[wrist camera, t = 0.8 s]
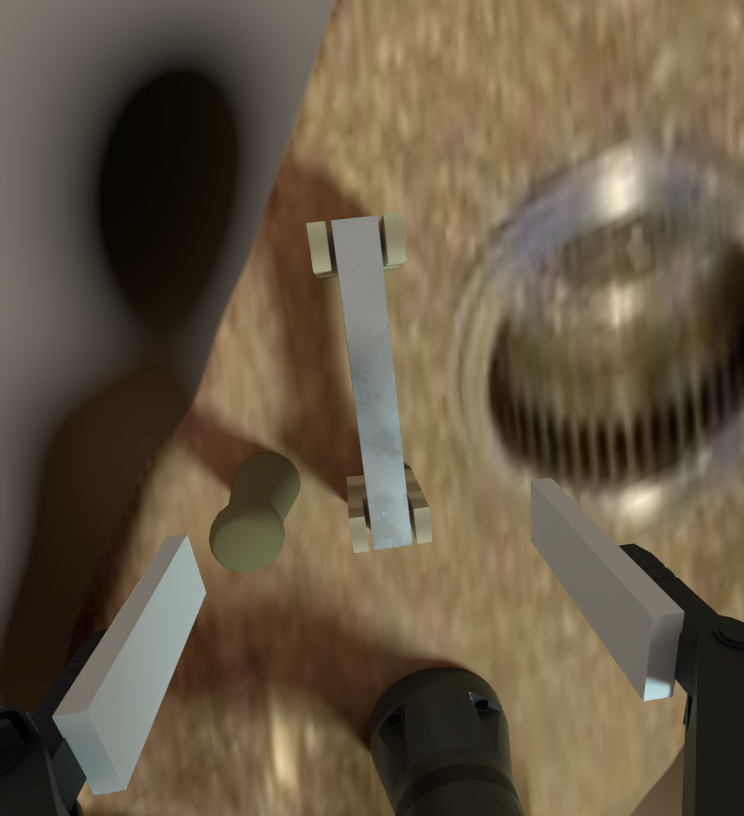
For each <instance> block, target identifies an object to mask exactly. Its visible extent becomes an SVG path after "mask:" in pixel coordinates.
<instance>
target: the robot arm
mask: <svg viewBox="0 0 744 816" xmlns="http://www.w3.org/2000/svg"><path fill="white" fill-rule="evenodd" d="M531 541H532V543H533V544H534V545H535V547H536V548H537V550H538V551H539V553H540V554H541V555H542V557H543V558H544V560H545V561H546V563H547V564H548V565H549V567H550V568H551V570H552V571H553V573H554V574H555V575H556V577H557V578H558V580H559V581H560V583H561V584H562V585H563V587H564V588H565V590H566V591H567V593H568V594H569V595H570V597H571V598H572V600H573V601H574V603H575V604H576V605H577V607H578V608H579V610H580V611H581V613H582V614H583V615H584V617H585V618H586V620H587V621H588V623H589V624H590V625H591V627H592V628H593V630H594V631H595V633H596V634H597V635H598V637H599V638H600V640H601V641H602V643H603V644H604V645H605V647H606V648H607V650H608V651H609V653H610V654H611V655H612V657H613V658H614V660H615V661H616V663H617V664H618V665H619V667H620V668H621V670H622V671H623V673H624V674H625V675H626V677H627V678H628V680H629V681H630V683H631V684H632V685H633V687H634V688H635V690H636V691H637V693H638V694H639V695H640V697H641V698H642V700H643V701H648V700H654V699H660V698H666V697H672V696H673V691H674V684H675V679H676V680H677V682H678V683H679V684H680V685H681V686H682V688H683V689H684V690H685V691H686V693H687V701H686V707H685V714H684V720H683V724H684V725H685V748H684V773H683V774H684V775H683V800H682V816H744V622H741V621H739V620H736V619H734V618H731V617H726V616H721V615H718V614H717V613H716V612H715V611H714V610H713V609H712V608H710V607H709V606H708V605H707V604H706V603H705V602H704V601H703V600H702V599H701V598H700V597H698V596H697V595H696V594H695V593H694V592H693V591H692V590H691V589H690V588H689V587H688V586H687V585H685V584H684V583H683V582H682V581H681V580H680V579H679V578H676V576H675V574H673V573H672V572H671V571H670V570H669V569H668V568H665V566H664V564H663V563H661V562H660V561H659V560H658V559H657V558H656V557H655V556H654V555H653V554H652V553H650V552H648V551H646V550H645V549H643V548H641V547H639V546H637V545H635V544H627V545H621V546H618V545H617V544H616V543H615V542H614V541H613V540H612V539H611V538H610V537H609V536H608V535H607V534H606V533H605V532H604V531H603V530H602V529H601V528H600V527H599V526H598V525H597V524H596V523H595V522H594V521H593V520H592V519H591V518H590V517H589V516H588V515H587V514H586V513H585V512H584V511H583V510H582V509H581V508H580V507H579V506H578V505H577V504H576V503H575V502H574V501H573V500H572V499H571V498H570V497H569V496H568V495H567V494H566V493H565V492H564V491H563V490H562V489H561V488H560V487H559V486H558V485H557V484H556V483H555V482H554V481H553V480H552V479H551V478H545V479H538V480H532V481H531ZM205 595H206V591H205V588H204V585H203V581H202V578H201V575H200V572H199V569H198V566H197V563H196V560H195V557H194V554H193V551H192V548H191V545H190V542H189V539H188V535H187V534H185V535H179V536H172V537H167V538H166V539H165V541H164V542H163V544H162V545H161V547H160V548H159V550H158V552H157V553H156V555H155V556H154V558H153V559H152V561H151V563H150V564H149V566H148V567H147V569H146V570H145V572H144V573H143V575H142V577H141V578H140V580H139V581H138V583H137V584H136V586H135V588H134V589H133V591H132V592H131V594H130V595H129V597H128V599H127V600H126V602H125V603H124V605H123V606H122V608H121V609H120V611H119V613H118V614H117V616H116V617H115V619H114V620H113V622H112V624H111V625H110V627H109V628H108V629H106V630H100V631H96V632H95V633H94V634H92V635H91V636H90V637H89V638H88V639H87V640H86V641H85V642H84V643H83V644H82V645H81V646H80V647H79V648H78V649H77V651H76V652H75V654H74V655H73V657H72V658H71V660H70V661H69V663H68V666H67V667H65V668H64V670H63V671H62V673H61V674H60V676H59V679H58V681H56V682H55V683H54V684H53V686H52V688H51V689H50V690H49V692H48V693H47V695H46V696H45V698H44V699H43V701H42V702H41V703H40V705H39V707H38V708H37V709H36V711H35V712H34V714H33V715H32V717H30V715H29V713H28V712H27V710H26V709H25V707H24V706H19V705H13V706H9V707H5V708H2V709H0V816H83V812H82V808H81V806H80V804H79V802H78V800H77V797H78V795H79V793H80V791H81V789H82V787H83V785H84V783H85V781H87V783H88V785H89V787H90V788H91V790H92V792H93V794H94V795H99V794H105V793H111V792H117V791H123V790H126V788H127V785H128V783H129V780H130V778H131V775H132V773H133V771H134V768H135V766H136V763H137V761H138V758H139V756H140V753H141V751H142V749H143V746H144V744H145V741H146V739H147V736H148V734H149V731H150V729H151V727H152V724H153V722H154V719H155V717H156V714H157V712H158V709H159V707H160V705H161V702H162V700H163V697H164V695H165V692H166V690H167V687H168V685H169V683H170V680H171V678H172V675H173V673H174V670H175V668H176V665H177V663H178V661H179V658H180V656H181V653H182V651H183V648H184V646H185V643H186V641H187V639H188V636H189V634H190V631H191V629H192V626H193V624H194V621H195V619H196V617H197V614H198V612H199V609H200V607H201V604H202V602H203V599H204V597H205ZM370 743H371V753H372V758H373V761H374V764H375V767H376V769H377V772H378V774H379V777H380V779H381V782H382V784H383V786H384V789H385V791H386V794H387V796H388V799H389V801H390V804H391V806H392V809H393V811H394V814H395V816H525V814H524V811H523V809H522V806H521V804H520V801H519V798H518V796H517V793H516V790H515V787H514V784H513V777H512V766H511V754H510V742H509V730H508V724H507V720H506V716H505V714H504V711H503V709H502V706H501V704H500V702H499V699H498V697H497V695H496V693H495V692H494V690H493V689H492V688H491V687H490V686H489V684H487V683H486V682H485V681H484V680H482V679H481V678H479V677H478V676H476V675H474V674H471V673H469V672H466V671H462V670H457V669H447V668H441V669H431V670H426V671H422V672H419V673H416V674H413V675H411V676H409V677H406V678H405V679H403V680H401V681H399V682H398V683H396V684H395V685H394V686H392V687H391V688H390V689H389V690H388V691H387V692H386V693H385V694H384V695H383V696H382V697H381V699H380V700H379V702H378V703H377V705H376V706H375V708H374V711H373V713H372V716H371V720H370Z"/></svg>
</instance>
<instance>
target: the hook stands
mask: <svg viewBox="0 0 744 816" xmlns="http://www.w3.org/2000/svg"><path fill="white" fill-rule="evenodd" d="M378 224H379V234H380V243H381V253H382V262H383V272H385V271H392V270H393V269H395V268H397V267H398V266H400V265H401V264H403V263H405V262H406V250H405V239H404V228H403V218H402V213H394V214H385V215H383V217H382V219H381V221H380V223H378ZM306 225H307V232H308V239H309V246H310V252H311V259H312V266H313V272H314V274H315V275H316V277H317V278H318V279H325V278H334V277H338V273H337V265H336V258H335V250H334V242H333V235H332V229H326V225H325V221H322V222H312V223H306ZM404 472H405V481H406V491H407V500H408V510H409V519H410V524H411V527H412V530H413V533H414V536H415V539H416V542H417V544H419V543H425V542H432V534H431V523H430V512H429V506H428V503H427V501H426V499H425V497H424V495H423V493H422V490H421V488H420V486H419V484H418V482H417V480H416V477H415V475H414V473H413V471H412V469H411V468H407V469H404ZM346 478H347V495H348V512H349V523H350V530H351V537H352V544H353V550H354V553H359V552H366V551H369V546H368V538H367V531H370V530H371V525H370V517H369V510H368V502H367V495H366V487H365V479H364V475H358V476H351V477H346Z"/></svg>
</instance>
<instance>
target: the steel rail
mask: <svg viewBox="0 0 744 816" xmlns="http://www.w3.org/2000/svg"><path fill="white" fill-rule="evenodd" d="M331 225H332V235H333V242H334V250H335V258H336V265H337V273H338V281H339V288H340V296H341V304H342V311H343V319H344V326H345V334H346V342H347V349H348V357H349V365H350V372H351V380H352V388H353V395H354V403H355V410H356V418H357V426H358V433H359V441H360V449H361V456H362V464H363V472H364V479H365V487H366V495H367V502H368V510H369V517H370V525H371V532H372V539H373V545H374V550H379V549H386V548H392V547H399V546H405V545H412V538H411V529H410V519H409V510H408V500H407V491H406V481H405V472H404V462H403V453H402V443H401V434H400V424H399V415H398V405H397V396H396V386H395V377H394V367H393V358H392V348H391V339H390V329H389V319H388V310H387V300H386V291H385V281H384V272H383V262H382V253H381V243H380V234H379V224H378V215H376V216H367V217H358V218H349V219H340V220H331Z"/></svg>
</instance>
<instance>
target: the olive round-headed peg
mask: <svg viewBox="0 0 744 816" xmlns="http://www.w3.org/2000/svg"><path fill="white" fill-rule="evenodd" d="M300 485H301V483H300V476H299V473H298V471H297V469H296V467H295V466H294V465H293V464H292V463H291V462H290V461H289V460H288V459H287V458H285V457H283V456H281V455H279V454H274V453H269V452H267V453H258V454H256V455H253V456H251V457H249V458H247V459H246V460H245V461H244V462H243V463H242V464H241V465H240V467H239V469H238V470H237V472H236V476H235V480H234V484H233V488H232V492H231V496H230V500H229V504H228V506H226V507H225V508H224V509H223V510H222V511H221V512H219V514H218V515H217V517H216V519H215V520H214V522H213V524H212V526H211V530H210V536H209V543H210V548H211V551H212V553H213V555H214V556H215V558H216V560H217V561H218V562H219V563H220V564H221V565H223V566H224V567H225V568H227V569H229V570H231V571H234V572H240V573H249V572H255V571H258V570H260V569H262V568H265V567H267V566H268V565H269V564H270V563H271V562H273V561H274V560H275V558H276V557H277V555H278V554H279V552H280V550H281V549H282V545H283V540H284V535H285V532H284V526H283V522H284V520H285V518H286V516H287V514H288V512H289V510H290V509H291V507H292V505H293V503H294V501H295V499H296V497H297V495H298V494H299V489H300Z"/></svg>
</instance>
